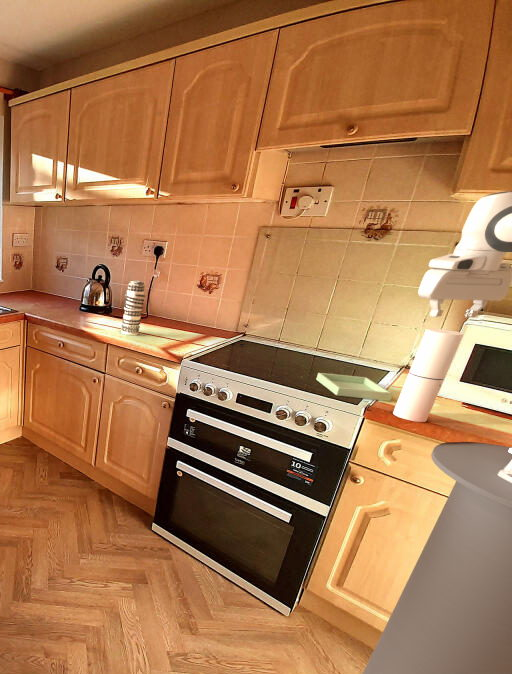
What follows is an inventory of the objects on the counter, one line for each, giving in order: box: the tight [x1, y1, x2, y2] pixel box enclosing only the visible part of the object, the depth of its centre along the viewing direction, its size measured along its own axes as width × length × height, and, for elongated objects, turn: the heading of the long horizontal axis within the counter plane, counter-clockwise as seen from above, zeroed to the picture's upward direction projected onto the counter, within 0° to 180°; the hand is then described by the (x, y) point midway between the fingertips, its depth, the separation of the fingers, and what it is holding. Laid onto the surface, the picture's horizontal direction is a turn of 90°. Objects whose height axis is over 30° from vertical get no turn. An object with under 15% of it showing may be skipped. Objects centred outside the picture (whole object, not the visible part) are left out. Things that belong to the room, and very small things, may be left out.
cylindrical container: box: [392, 327, 464, 423], centre depth 117 cm, size 7×7×25 cm
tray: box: [315, 372, 394, 402], centre depth 140 cm, size 16×15×3 cm
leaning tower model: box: [120, 279, 146, 336], centre depth 203 cm, size 9×9×25 cm
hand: (452, 316), depth 111 cm, fingers open, 8 cm apart
